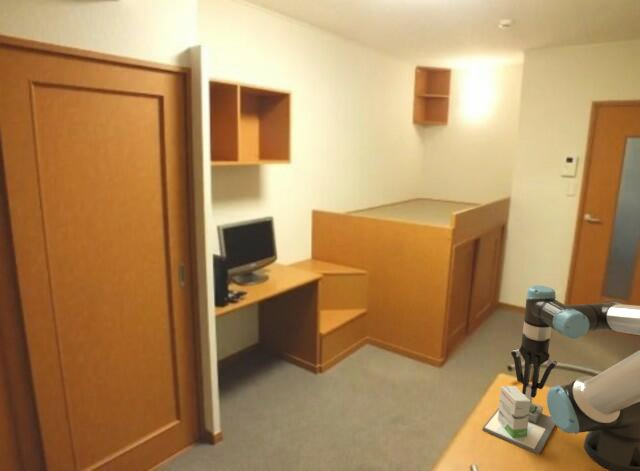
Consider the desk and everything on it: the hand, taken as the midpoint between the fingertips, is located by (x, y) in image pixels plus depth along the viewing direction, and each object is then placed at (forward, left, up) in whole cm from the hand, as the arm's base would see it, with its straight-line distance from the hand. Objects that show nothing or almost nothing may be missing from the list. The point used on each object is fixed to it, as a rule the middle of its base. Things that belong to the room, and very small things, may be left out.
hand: (528, 404), depth 136 cm
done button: (0, 0, -3) cm, 3 cm away
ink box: (+1, +11, -3) cm, 11 cm away
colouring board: (0, +6, -4) cm, 8 cm away
